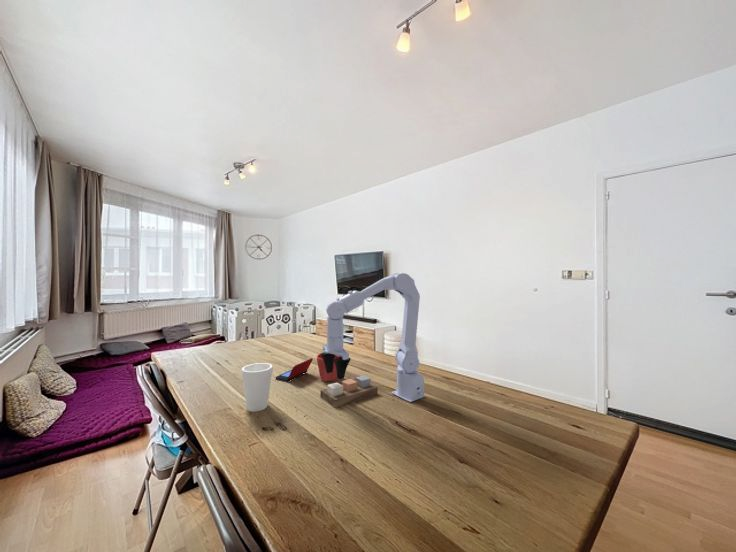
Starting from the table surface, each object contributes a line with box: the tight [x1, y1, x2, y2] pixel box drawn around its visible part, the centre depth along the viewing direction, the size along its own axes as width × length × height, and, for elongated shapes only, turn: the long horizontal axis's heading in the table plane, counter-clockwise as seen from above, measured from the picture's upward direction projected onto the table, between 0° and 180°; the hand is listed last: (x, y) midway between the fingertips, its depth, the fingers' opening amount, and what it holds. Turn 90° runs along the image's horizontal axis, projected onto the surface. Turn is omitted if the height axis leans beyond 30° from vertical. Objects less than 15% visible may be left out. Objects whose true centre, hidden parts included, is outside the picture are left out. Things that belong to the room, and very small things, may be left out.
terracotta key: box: [341, 378, 357, 392], centre depth 102 cm, size 4×4×3 cm
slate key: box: [354, 375, 371, 388], centre depth 106 cm, size 4×4×3 cm
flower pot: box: [316, 353, 339, 382], centre depth 119 cm, size 11×11×10 cm
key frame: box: [320, 382, 379, 409], centre depth 102 cm, size 10×18×2 cm, turn 128°
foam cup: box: [240, 362, 274, 413], centre depth 93 cm, size 10×9×13 cm
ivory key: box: [326, 382, 343, 396], centre depth 99 cm, size 4×4×3 cm
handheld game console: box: [274, 357, 314, 383], centre depth 121 cm, size 12×11×7 cm
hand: (335, 375), depth 99 cm, fingers open, 7 cm apart
